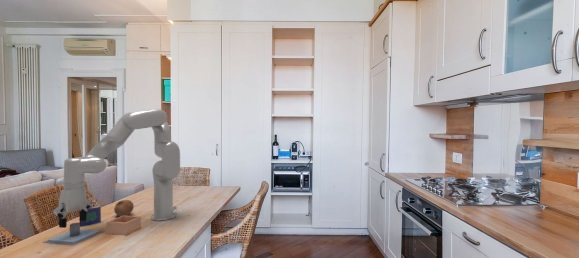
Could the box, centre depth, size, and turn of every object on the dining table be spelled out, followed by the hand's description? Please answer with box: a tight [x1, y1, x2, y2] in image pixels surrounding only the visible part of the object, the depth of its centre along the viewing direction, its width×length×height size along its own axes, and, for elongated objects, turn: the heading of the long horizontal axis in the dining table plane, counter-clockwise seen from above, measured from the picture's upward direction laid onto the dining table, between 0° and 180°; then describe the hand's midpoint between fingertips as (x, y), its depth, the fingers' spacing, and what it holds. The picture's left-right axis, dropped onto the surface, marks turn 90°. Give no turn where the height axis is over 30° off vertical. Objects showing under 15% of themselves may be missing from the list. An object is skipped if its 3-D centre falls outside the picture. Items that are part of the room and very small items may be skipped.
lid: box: [48, 222, 100, 244], centre depth 128 cm, size 13×13×6 cm
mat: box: [42, 230, 104, 246], centre depth 128 cm, size 16×16×1 cm
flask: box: [78, 203, 102, 228], centre depth 145 cm, size 9×3×11 cm, turn 138°
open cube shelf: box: [106, 215, 142, 237], centre depth 135 cm, size 10×10×6 cm
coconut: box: [113, 199, 135, 217], centre depth 160 cm, size 10×9×10 cm
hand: (73, 223), depth 127 cm, fingers open, 9 cm apart
